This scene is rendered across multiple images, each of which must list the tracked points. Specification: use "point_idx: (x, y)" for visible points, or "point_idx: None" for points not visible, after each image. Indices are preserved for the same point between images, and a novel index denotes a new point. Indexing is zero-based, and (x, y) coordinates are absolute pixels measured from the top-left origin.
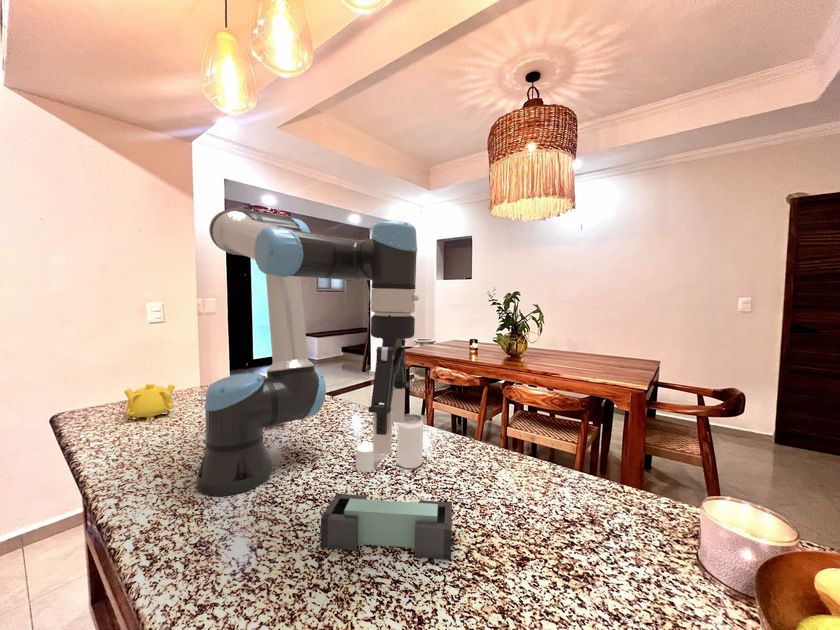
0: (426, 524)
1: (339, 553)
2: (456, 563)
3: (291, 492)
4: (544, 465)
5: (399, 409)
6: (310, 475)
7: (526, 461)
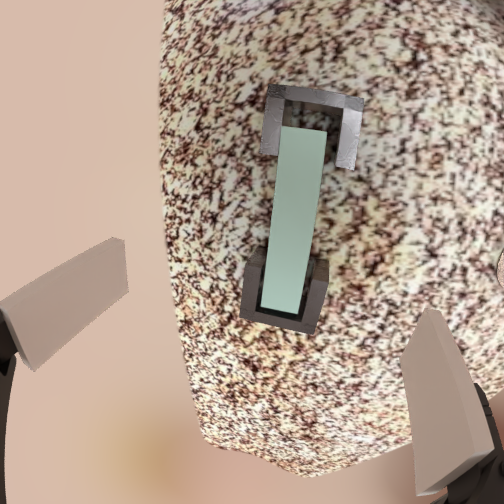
0: (252, 284)
1: None
2: None
3: (430, 24)
4: None
5: (418, 388)
6: (487, 57)
7: None
